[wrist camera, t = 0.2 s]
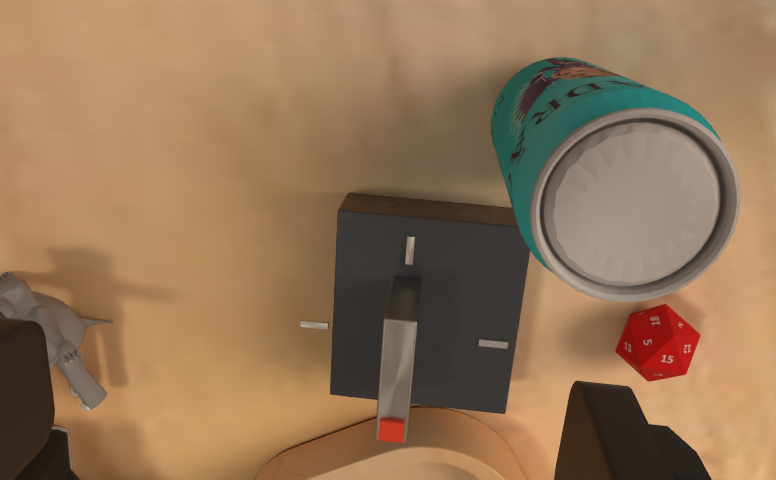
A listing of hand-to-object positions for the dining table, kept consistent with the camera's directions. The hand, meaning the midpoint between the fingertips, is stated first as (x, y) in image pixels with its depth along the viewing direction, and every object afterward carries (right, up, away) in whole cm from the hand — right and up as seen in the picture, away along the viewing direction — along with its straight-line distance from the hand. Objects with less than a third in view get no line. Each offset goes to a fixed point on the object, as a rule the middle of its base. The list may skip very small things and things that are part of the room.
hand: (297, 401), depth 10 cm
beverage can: (+9, +8, +21) cm, 24 cm away
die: (+15, -2, +24) cm, 28 cm away
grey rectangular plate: (+2, -2, +22) cm, 22 cm away
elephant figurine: (-16, -2, +27) cm, 31 cm away
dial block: (+3, 0, +24) cm, 25 cm away
